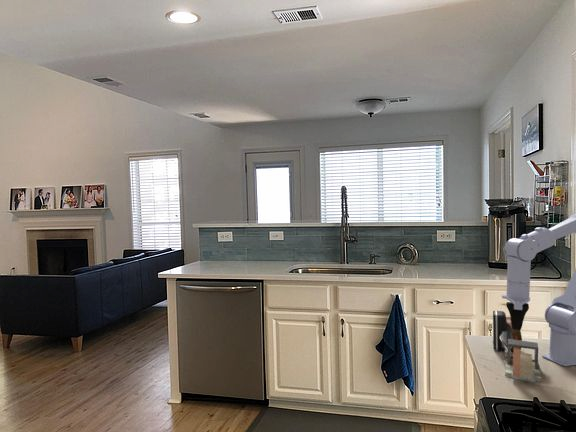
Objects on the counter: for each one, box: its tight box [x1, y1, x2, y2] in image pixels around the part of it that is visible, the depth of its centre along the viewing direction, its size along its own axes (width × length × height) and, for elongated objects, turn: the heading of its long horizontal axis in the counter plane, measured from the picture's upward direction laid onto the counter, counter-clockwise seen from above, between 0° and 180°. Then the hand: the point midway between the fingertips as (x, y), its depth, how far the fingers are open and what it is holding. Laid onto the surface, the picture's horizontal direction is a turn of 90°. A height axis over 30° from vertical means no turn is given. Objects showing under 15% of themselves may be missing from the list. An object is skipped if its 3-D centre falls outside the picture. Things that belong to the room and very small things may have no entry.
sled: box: [511, 347, 537, 383], centre depth 119 cm, size 8×5×8 cm
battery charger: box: [492, 309, 507, 352], centre depth 141 cm, size 7×4×11 cm, turn 157°
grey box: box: [507, 339, 539, 369], centre depth 126 cm, size 4×7×6 cm, turn 64°
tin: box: [500, 316, 523, 352], centre depth 143 cm, size 15×3×8 cm, turn 170°
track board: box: [504, 354, 542, 383], centre depth 125 cm, size 14×8×1 cm, turn 154°
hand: (516, 328), depth 127 cm, fingers closed
